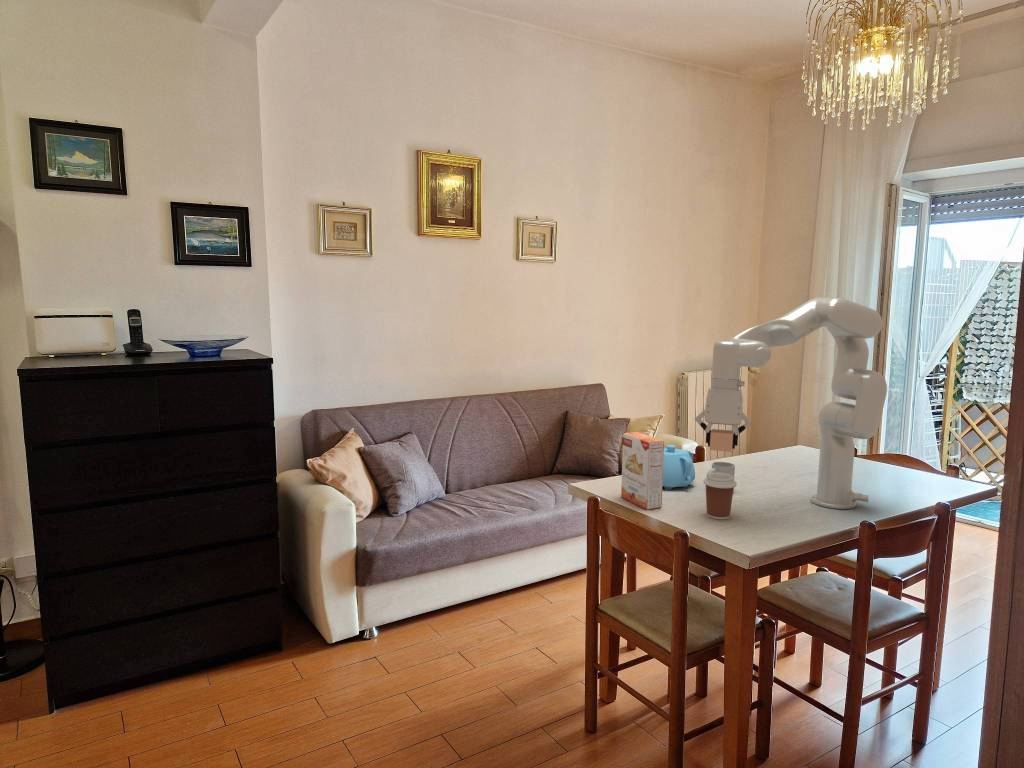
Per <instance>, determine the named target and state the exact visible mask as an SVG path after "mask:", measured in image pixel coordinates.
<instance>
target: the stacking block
mask: <svg viewBox="0 0 1024 768" xmlns="http://www.w3.org/2000/svg"><path fill="white" fill-rule="evenodd" d="M733 434H734V430H729V429H719V428H711V436H710V447H709V451H718V452H719V451H720V452H727V453H732V452H733V448H732V444H733Z"/></svg>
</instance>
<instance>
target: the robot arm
mask: <svg viewBox="0 0 1024 768" xmlns="http://www.w3.org/2000/svg"><path fill="white" fill-rule="evenodd" d="M825 327H826V329H827V331H828V332H829V334H830V335H831V336H832V338H833V340H834V341H835V344H836V347H837V355H836V360H835V365H834V370H833V372H832V373H833V375H832V379H831V383H830V384H831V385H830V387H831V389H830V390H831V391H832V393H833V394H834V395H835V396H836V397H838V398H842V399H847V400H852V401H855V404H852V403H847V402H841V401H832V402H831V401H830V402H828V403H826V404H824V405H823V406H822V407H821V409H820V410H819V414H818V424H819V430H820V431H819V432H820V435H819V436H820V443H819V445H820V446H819V459H818V471H817V472H818V474H817V475H818V476H817V486H816V487H817V489H816V493H815V494H812V495H811V496H810V501H811V502H812V503H813V504H815V505H817V506H821V507H824V508H825V507H826V508H829V509H838V510H839V509H840V510H849V509H854V508H855V507H857V501H858V502H863V503H864V502H866V503H868V502H869V495H867V494H865V495H864V494H863V493H855V492H854V491H853V490H852V484H853V474H854V473H853V471H854V464H855V463H854V462H855V450H856V449H855V443H854V440H853V439H858V440H868V439H870V438H872V437H874V436H875V435H876V433H877V432H878V429H879V427H880V424H881V420H882V415H883V411H884V406H885V401H886V397H887V392H888V385H887V381H886V378H885V377H884V376H883V374H881V373H880V372H878V371H876V370H873V369H868V363H869V357H870V349H869V345H868V343H867V341H866V339H872V338H874V337H876V336H877V335H879V333H880V332H881V331H882V328H883V318H882V316H881V315H880V313H879V312H878V311H877V310H875V309H873V308H871V307H868V306H865V305H862V304H860V303H858V302H854V301H852V300H849V299H846V298H842V297H820V296H819V297H814V298H811V299H809V300H807V301H806V302H804V303H801V304H800V305H799V306H797V307H796V308H794V309H792V310H790V311H789V312H786V313H785V314H784V315H782V316H780V317H778V318H776V319H772V320H769V321H766V322H764V323H762V324H758V325H755V326H752V327H750V328H747V329H746V330H744V331H742V332H740V333H739V334H737V335H736V336H734V337H733V338H731V339H730V340H717V341H716V342H714V344H713V348H712V351H713V352H712V366H711V367H712V369H711V382H710V387H708V390H707V393H706V398H705V404H704V405H705V407H704V410H703V411H701V412H700V413H699V414H698V415H696V417H695V418H694V421H695V422H696V423H697V424H698V425H699V427H701V428H702V429H703V430H704V432H705V444H707V447H708V448H710V436H711V430H712V427H713V425H722V426H723V425H724V426H725V425H726V426H731V427H732V429H733V431H734V432H733V444H732V450H735V448H736V447H738V443H739V442H738V441H739V435H740V434H741V433H742V432H743V431H745V430H746V429H748V427H750V426H751V425H752V421H751V419H749V417H748V416H746V414H745V413H744V412H743V401H744V400H743V391H742V389H740V387H745V383H746V382H745V381H742V380H741V367H742V366H743V367H750V368H760V367H762V366H765V365H767V364H768V362H769V361H770V359H771V356H772V351H771V348H772V347H773V348H774V347H782V346H787V345H792V344H796V343H797V342H799V341H800V340H802V339H804V338H805V337H807V336H809V335H811V334H812V333H814V332H815V331H817V330H819V329H821V328H825ZM703 418H704V421H703V420H702V419H703ZM742 421H743V422H744V423H743V424H741V423H742ZM705 422H706V423H708V424H706V423H705ZM739 425H741V426H739Z"/></svg>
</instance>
